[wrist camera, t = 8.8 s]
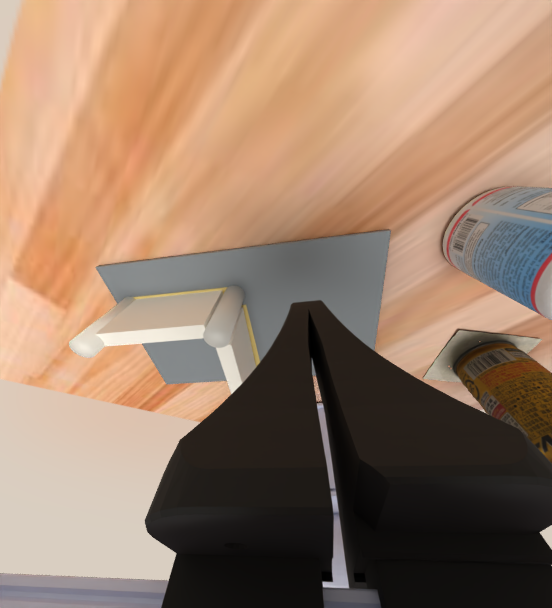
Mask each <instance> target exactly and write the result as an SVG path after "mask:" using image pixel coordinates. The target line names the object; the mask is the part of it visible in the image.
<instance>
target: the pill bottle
mask: <svg viewBox="0 0 552 608" xmlns="http://www.w3.org/2000/svg"><path fill="white" fill-rule="evenodd" d="M443 252H444V255H445V257H446V259H447V260H448V262H449V263H450V264H451V265H453V266H454V267H456V268H457V269H459V270H461V271H462V272H464V273H466V274H468V275H469V276H471V277H473V278H475V279H477V280H479V281H480V282H482V283H484V284H486V285H488V286H489V287H491V288H493V289H495V290H497V291H498V292H500V293H502V294H504V295H506V296H508V297H509V298H511V299H513V300H515V301H517V302H518V303H520V304H522V305H524V306H526V307H528V308H529V309H531V310H533V311H535V312H537V313H539V314H540V315H542V316H544V317H546V318H548V319H550V320H552V188H537V187H502V188H497V189H493V190H490V191H488V192H486V193H483V194H481V195H480V196H478V197H476V198H475V199H473V200H472V201H470V202H469V203H468V204H466V205H465V206H464V207H463V208H462V209H461V210H460V211H459V212H458V213H457V214H456V215H455V217H454V218H453V219H452V221H451V222H450V224H449V226H448V228H447V230H446V232H445V235H444V239H443Z"/></svg>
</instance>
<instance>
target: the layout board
mask: <svg viewBox="0 0 552 608" xmlns="http://www.w3.org/2000/svg"><path fill="white" fill-rule="evenodd" d="M390 233H391V230H389V229H388V230H380V231H372V232H364V233H356V234H348V235H340V236H332V237H324V238H316V239H308V240H300V241H292V242H284V243H276V244H268V245H260V246H252V247H244V248H236V249H228V250H220V251H212V252H204V253H196V254H188V255H180V256H172V257H164V258H156V259H148V260H140V261H132V262H124V263H116V264H108V265H100V266H97V267H96V269H97V271H98V272H99V274H100V276H101V277H102V279H103V281H104V282H105V284H106V286H107V287H108V289H109V290H110V292H111V294H112V295H113V297H114V299H115V300H116V302H117V304H118V303H119V302H121V301H122V300H123V299H125V298H126V297H133V298H135V299H142V298H152V297H161V296H171V295H181V294H190V293H200V292H209V291H219V290H222V291H223V294H224V292H225V290H226V289H227V288H228V287H229V286H232V285H235V286H238V287H240V288H242V290H243V291H244V293H245V297H244V300H243V303H242V306H241V307H243V310H244V314H245V319H246V323H247V328H248V332H249V337H250V341H251V346H252V350H253V355H254V359H255V364H256V367H257V365H258V364H259V363H260V362H261V360H262V359H263V357H264V356H265V355H266V353H267V352H268V350H269V349H270V347H271V346H272V344H273V342H274V341H275V339H276V337H277V336H278V334H279V332H280V330H281V328H282V326H283V324H284V322H285V320H286V318H287V315H288V313H289V310H290V305H291V304H292V303H295V302H305V301H316V300H321V301H323V302H324V304H325V305H326V306H327V307H328V309H329V310H330V311H331V312H332V313H333V314H334V315H335V316H336V317H337V319H338V320H339V321H340V322H341V323H342V324H343V325H344V326H345V327H346V328H347V329H349V330H350V331H351V332H352V333H353V334H354V335H355V336H356V337H357V338H359V339H360V340H361V341H362V342H363V343H365V344H366V345H367V346H368V347H370V348H371V349H372V350H375V342H376V335H377V328H378V321H379V313H380V306H381V299H382V291H383V284H384V277H385V270H386V262H387V255H388V248H389V240H390ZM142 345H143V346H144V348H145V350H146V351H147V353H148V355H149V356H150V358H151V360H152V361H153V363H154V364H155V366H156V368H157V369H158V371H159V373H160V374H161V376H162V378H163V379H164V381H165V383H166V384H179V383H196V382H213V381H227V380H226V377H225V374H224V371H223V368H222V365H221V362H220V359H219V356H218V353H217V350H216V347H212V346H210V345H208V344H207V343H206V342H205V340H204V338H202V339H190V340H177V341H165V342H153V343H142ZM315 375H316V373H315V369H314V365H313V360H312V376H315Z"/></svg>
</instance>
